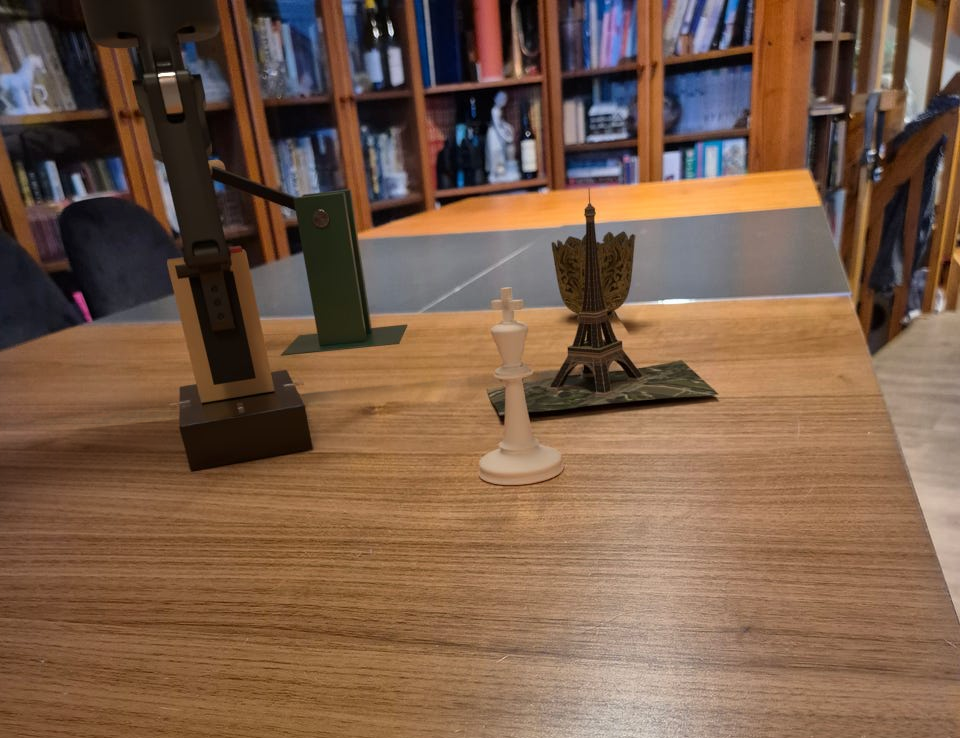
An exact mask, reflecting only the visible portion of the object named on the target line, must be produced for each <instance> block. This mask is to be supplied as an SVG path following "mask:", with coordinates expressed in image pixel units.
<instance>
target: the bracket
mask: <svg viewBox="0 0 960 738" xmlns="http://www.w3.org/2000/svg"><path fill="white" fill-rule="evenodd" d="M294 197H295V198H294V205H295V210H296V211H295V215H296V222H297V227H298V232H299V237H300V244H301V249H302V255H303V260H304V266H305V271H306V278H307V284H308V290H309V295H310V300H311V305H312V311H313V317H314V322H315V328H316V333H308V334H299V335H297V336H296V338H295V339H294V340H293V341H292V342H291V343H290V344H289V345H288V346H287V347H286V348H285V349H284V350H283V352H282V353H281V354H280V356H281V357H283V356H293V355H303V354H313V353H322V352H323V353H324V352H331V351H332V352H333V351H342V350H352V349H363V348H372V347H373V348H375V347H382V346H394V345H400V343H401V341H402V339H403V337H404V335H405V332H406V330H407V328H408V324H396V325H387V326H378V327H373V326H372V321H371V314H370V307H369V299H368V294H367V288H366V281H365V274H364V267H363V261H362V254H361V253H362V252H361V247H360V241H359V234H358V228H357V227H358V226H357V222H356V214H355V213H356V212H355V207H354V200H353V195H352V189H350V188H349V189H340V190H332V191H323V192H314V193H313V192H312V193H304V194H302V195H301V196H294Z"/></svg>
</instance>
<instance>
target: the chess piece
mask: <svg viewBox="0 0 960 738" xmlns="http://www.w3.org/2000/svg"><path fill="white" fill-rule="evenodd" d="M524 308H525V307H524V299H514V298H513V288H512V287H511V286H510V287H509V286H507V287H506V286H505V287H501V288H500V299H494V300H491V310H492V311H502V321H500V323H496V324H494V325H493V326H492V327H491V328H490V333H491V337H492V339H493V341H494V343H495V346H496V348H497V351H498V354H499V356H500V358H501V360H502V364H501V366H500V367H497V368H496V369H495V370H494V373H493V377H494V378H495V379H498V380H503V381H504V383H505V385H504V387H505V415H504V423H503V426H504V427H503V428H504V429H503V440H501V441H499V443H498V447H499V448H496V449H494V450H491V451H490V452H487V453H486V454H484V455H483V456H482V457H481V458H480V460H479V461H478V467H479V470H478V477H479V478H480V479H481V480H482V481H484V482H487V483H489V484H492V485H493V484H494V485H501V486H522V485H531V484H537V483H540V482H544V481H547V480H549V479H552V478H554V477H556V476H558V475H560V474H561V473H562V472H563V470H564V467H565V466H564V463H563V461H562V460H563V455H562V453H561V452H560V451H559V450H557V449H556V448H554V447H551V446H548V445H543V444H539V443H540V439H538V438H537V437H535V436H534V433H533V430H532V425H531V420H530V415H529V412H528V410H527V405H526V400H525V394H524V388H523V383H524V382H523V379H524V378H528V377H529V376H531V375H532V374H533V372H534V371H533V370H532V366H531V365H528V364H524V362H522V358H523V356H524V351H525V344H526V341H527V337H528V333H529V325H528V324H527V323H526V322H523V321H521V320H520V321H518V320H517V319H515V312H514V311H521V310H523V309H524Z"/></svg>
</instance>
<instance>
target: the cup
mask: <svg viewBox="0 0 960 738" xmlns="http://www.w3.org/2000/svg"><path fill="white" fill-rule="evenodd" d="M596 243H597V253H598V263H599V272H600V280H601V287H602V293H603V299H604V303H605V308H606V309H608V311H607V315H608V318H609V320H613V319H614V318H616V314H615V312H614V311H616V310H618V309H619V308H621V307H622V305H623V304H624V303H625V302H626V300H627V298H628V296H629V293H630V289H631V283H632V276H633V266H634V257H635V256H634V255H635V243H636V234H634V233H631V234H630V235H629V236H628V234H627V232H626V231H624V230H623V231H621V232H619V233H617V234H616V235H614V233H612V232H611V231H607V233H606V234H604V236H603V238H602V242H599V241H596ZM551 250H552V256H553V263H554V269H555V276H556V280H557V287H558V290H559V294H560V298H561V300H562V302H563V304H564V306H565V307H566V308H567V309H568V310H570V311H571V312H572V313H575V314H577V317H576V321H578V322H579V321H580V317H581V316H580V314H579V312H581V311H582V304H583V295H584V282H585V252H586V234H584V235H583V237H582V239H580V238H578V237H575V236H572V235H569V236H568V237H567V238H566V240H565V242H564V243H563V241H562V240H560V239H557V240H556V242H554V241H552V242H551Z"/></svg>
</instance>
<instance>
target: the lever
mask: <svg viewBox="0 0 960 738" xmlns="http://www.w3.org/2000/svg"><path fill="white" fill-rule="evenodd" d="M208 162H209V167H210V171H211V176H212V180H213V182H216V183H219V184H222V185H225V186H228V187H231V188H233V189H236V190H239V191H241V192H243V193H246V194H249V195H252V196H255V197H256V198H260V199H263V200H265V201H268V202H270V203H273V204H275V205H278V206H281V207H283V208H287V209H288V210H291V211H294V212H296V210H295V205H294V198H295V197H296V196H294V195H292V194H289V193H286V192H284V191H282V190H278V189H276V188H273V187H270V186H267V185H265V184H263V183H259V182H257V181H255V180H252V179H249V178H247V177H244V176H242V175H239V174H236V173H233V172H231V171H228V170H226V166H225V164H224V162H223V161H222V160H220V159H211V160H210V159H208Z"/></svg>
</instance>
